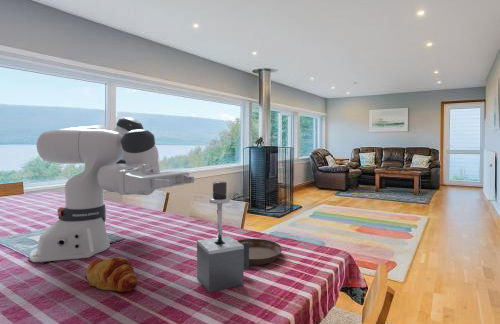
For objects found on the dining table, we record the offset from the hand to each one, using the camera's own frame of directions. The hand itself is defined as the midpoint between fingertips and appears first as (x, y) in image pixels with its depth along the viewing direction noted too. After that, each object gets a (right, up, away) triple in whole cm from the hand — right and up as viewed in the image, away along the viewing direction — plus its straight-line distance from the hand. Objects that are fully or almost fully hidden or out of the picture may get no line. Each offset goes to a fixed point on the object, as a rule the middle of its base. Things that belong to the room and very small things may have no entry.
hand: (182, 181), depth 86 cm
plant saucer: (+19, -24, +14) cm, 34 cm away
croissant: (-17, -25, -4) cm, 31 cm away
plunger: (+10, -15, -4) cm, 19 cm away
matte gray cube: (+12, -25, -3) cm, 28 cm away
